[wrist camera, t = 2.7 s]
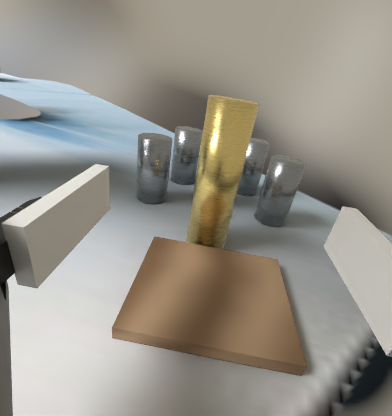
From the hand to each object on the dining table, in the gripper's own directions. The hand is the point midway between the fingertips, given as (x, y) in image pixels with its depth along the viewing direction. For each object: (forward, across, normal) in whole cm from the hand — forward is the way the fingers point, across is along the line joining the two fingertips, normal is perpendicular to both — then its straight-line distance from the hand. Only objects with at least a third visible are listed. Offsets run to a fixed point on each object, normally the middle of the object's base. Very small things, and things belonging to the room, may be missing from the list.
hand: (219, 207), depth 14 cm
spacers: (+21, 0, -9) cm, 23 cm away
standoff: (+9, 0, -9) cm, 13 cm away
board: (+2, +1, -9) cm, 9 cm away
